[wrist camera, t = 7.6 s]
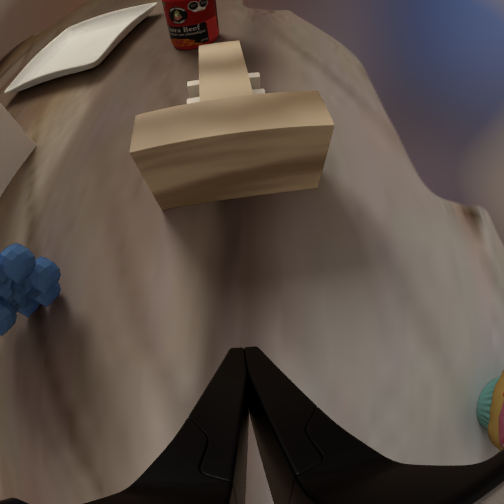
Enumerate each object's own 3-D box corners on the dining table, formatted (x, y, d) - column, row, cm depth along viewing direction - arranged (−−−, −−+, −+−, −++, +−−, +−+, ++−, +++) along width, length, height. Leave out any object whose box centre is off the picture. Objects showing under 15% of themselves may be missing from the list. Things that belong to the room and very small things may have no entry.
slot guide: (277, 157, 27) (278, 139, 25) (192, 169, 27) (186, 152, 24) (259, 88, 31) (258, 72, 29) (191, 97, 31) (187, 81, 29)
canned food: (163, 50, 36) (149, -5, 26) (187, 30, 39) (178, -20, 29) (206, 51, 35) (197, -10, 25) (226, 31, 38) (221, -23, 28)
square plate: (161, 13, 45) (158, -1, 42) (102, 78, 35) (94, 60, 32) (71, 35, 47) (67, 25, 44) (9, 104, 38) (1, 92, 34)
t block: (317, 188, 25) (334, 124, 18) (161, 209, 25) (129, 152, 18) (285, 94, 31) (288, 37, 23) (166, 110, 30) (150, 56, 23)
